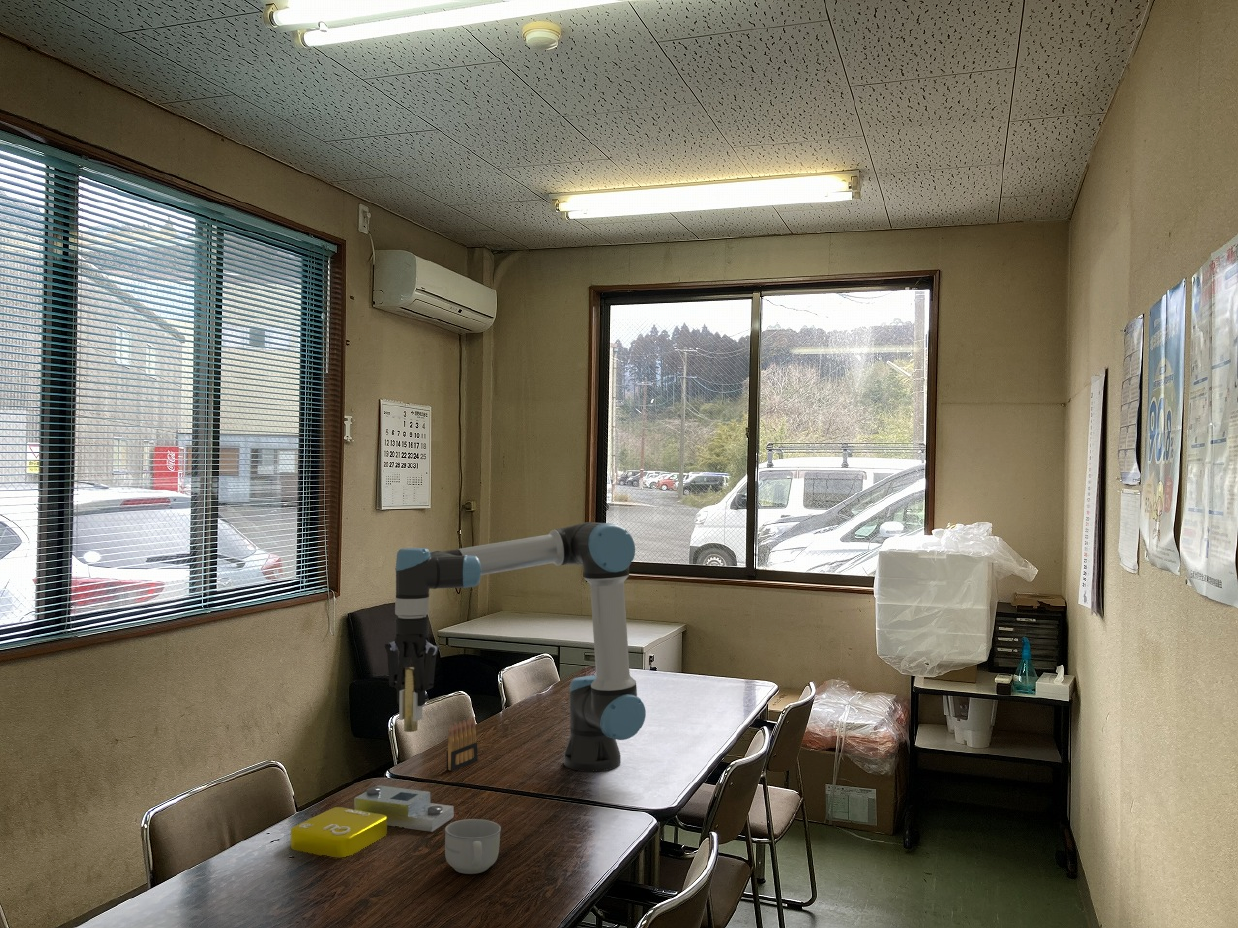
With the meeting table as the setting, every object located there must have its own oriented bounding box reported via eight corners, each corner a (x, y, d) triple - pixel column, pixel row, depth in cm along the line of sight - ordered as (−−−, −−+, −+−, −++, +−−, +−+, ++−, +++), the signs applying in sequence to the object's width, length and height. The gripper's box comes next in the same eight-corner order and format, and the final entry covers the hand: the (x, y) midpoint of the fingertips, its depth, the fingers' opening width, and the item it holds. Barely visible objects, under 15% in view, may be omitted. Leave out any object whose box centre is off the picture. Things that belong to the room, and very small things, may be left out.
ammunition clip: (451, 771, 237) (451, 725, 238) (446, 770, 238) (445, 724, 239) (478, 760, 247) (477, 716, 247) (472, 759, 248) (472, 715, 248)
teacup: (448, 857, 183) (447, 817, 184) (502, 855, 184) (502, 815, 184) (440, 888, 170) (440, 844, 170) (499, 885, 170) (498, 842, 171)
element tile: (391, 835, 196) (391, 812, 196) (344, 861, 183) (344, 837, 183) (335, 824, 202) (335, 803, 202) (286, 850, 188) (286, 826, 189)
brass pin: (420, 729, 209) (420, 667, 209) (412, 732, 206) (413, 670, 207) (408, 727, 210) (409, 666, 210) (401, 730, 207) (402, 669, 208)
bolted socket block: (453, 817, 205) (453, 791, 205) (432, 831, 197) (432, 804, 197) (378, 806, 212) (378, 781, 212) (354, 820, 204) (354, 794, 204)
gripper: (451, 615, 209) (449, 718, 209) (392, 611, 215) (391, 711, 215) (433, 620, 202) (431, 726, 202) (372, 615, 208) (371, 719, 208)
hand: (410, 718), depth 208 cm, fingers closed on brass pin, 3 cm apart
